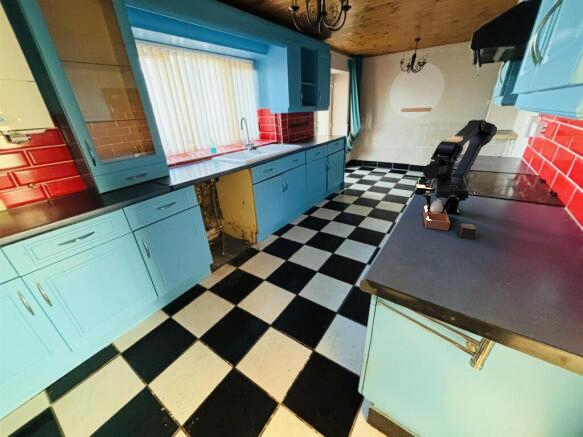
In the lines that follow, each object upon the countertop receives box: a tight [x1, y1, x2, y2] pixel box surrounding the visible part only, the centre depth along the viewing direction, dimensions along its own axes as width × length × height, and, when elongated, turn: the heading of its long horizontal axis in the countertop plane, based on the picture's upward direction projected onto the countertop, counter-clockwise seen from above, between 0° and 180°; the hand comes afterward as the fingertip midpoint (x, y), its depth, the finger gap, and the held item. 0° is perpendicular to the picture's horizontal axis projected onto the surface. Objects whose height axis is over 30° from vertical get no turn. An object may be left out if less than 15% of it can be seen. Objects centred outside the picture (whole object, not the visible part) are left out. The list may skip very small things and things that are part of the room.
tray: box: [422, 205, 451, 231], centre depth 97 cm, size 8×15×4 cm, turn 156°
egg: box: [430, 198, 444, 214], centre depth 99 cm, size 5×5×7 cm
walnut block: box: [458, 222, 477, 240], centre depth 85 cm, size 4×4×4 cm
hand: (435, 210), depth 100 cm, fingers closed on egg, 5 cm apart
